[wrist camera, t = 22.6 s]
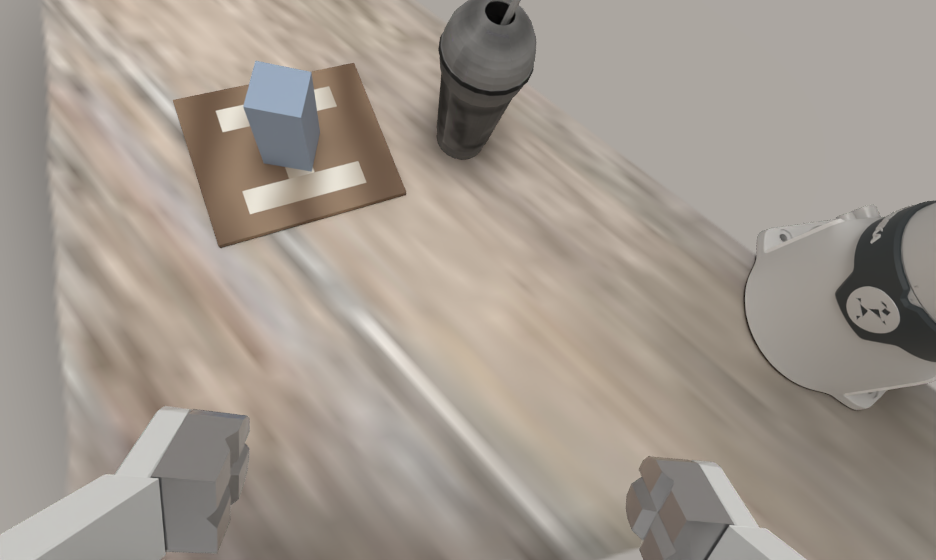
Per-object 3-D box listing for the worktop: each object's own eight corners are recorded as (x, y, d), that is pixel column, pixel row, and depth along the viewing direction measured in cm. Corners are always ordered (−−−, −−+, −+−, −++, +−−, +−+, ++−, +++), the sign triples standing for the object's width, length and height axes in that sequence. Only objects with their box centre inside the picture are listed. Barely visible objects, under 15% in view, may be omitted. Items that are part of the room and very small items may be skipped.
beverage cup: (420, 102, 49) (455, -103, 31) (494, 107, 51) (570, -87, 32) (423, 171, 47) (462, -5, 29) (500, 174, 49) (585, 8, 30)
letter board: (353, 66, 49) (353, 62, 49) (405, 194, 46) (406, 192, 46) (174, 103, 45) (172, 99, 44) (220, 248, 42) (218, 245, 41)
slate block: (273, 123, 45) (255, 60, 38) (320, 131, 46) (311, 72, 39) (263, 163, 44) (243, 106, 37) (311, 171, 45) (301, 117, 37)
